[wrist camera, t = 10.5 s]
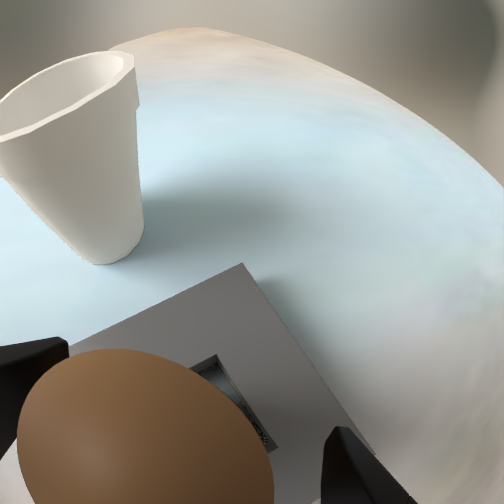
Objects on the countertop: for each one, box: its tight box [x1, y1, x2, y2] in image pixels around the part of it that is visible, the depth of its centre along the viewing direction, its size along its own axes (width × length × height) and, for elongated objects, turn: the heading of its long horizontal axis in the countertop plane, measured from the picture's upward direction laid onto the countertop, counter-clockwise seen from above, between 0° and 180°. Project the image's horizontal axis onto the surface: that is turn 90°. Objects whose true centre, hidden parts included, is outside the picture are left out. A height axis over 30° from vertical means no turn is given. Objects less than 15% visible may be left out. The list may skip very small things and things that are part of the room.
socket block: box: [69, 263, 375, 504], centre depth 13 cm, size 14×14×3 cm
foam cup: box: [0, 51, 144, 265], centre depth 15 cm, size 10×9×13 cm
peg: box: [17, 348, 275, 504], centre depth 9 cm, size 4×4×14 cm
